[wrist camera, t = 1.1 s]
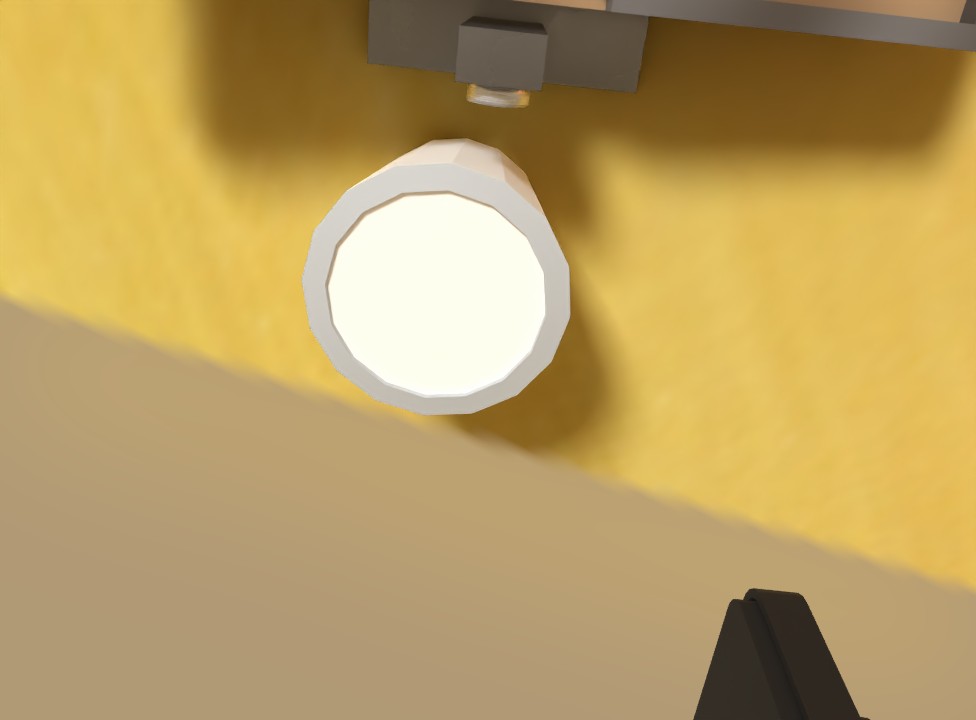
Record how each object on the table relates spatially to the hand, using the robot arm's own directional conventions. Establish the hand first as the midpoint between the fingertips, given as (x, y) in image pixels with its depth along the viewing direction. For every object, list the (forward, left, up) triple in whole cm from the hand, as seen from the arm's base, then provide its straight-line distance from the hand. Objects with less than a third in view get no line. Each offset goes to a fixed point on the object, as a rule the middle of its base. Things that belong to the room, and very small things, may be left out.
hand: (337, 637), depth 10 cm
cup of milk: (0, 0, -19) cm, 19 cm away
